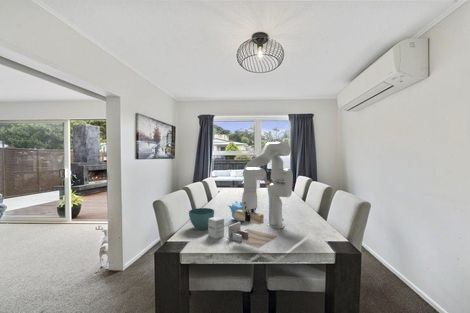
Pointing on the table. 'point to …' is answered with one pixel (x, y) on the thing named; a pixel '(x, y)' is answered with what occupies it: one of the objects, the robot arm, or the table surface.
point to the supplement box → (216, 227)
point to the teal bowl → (201, 217)
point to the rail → (254, 217)
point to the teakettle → (236, 207)
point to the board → (257, 238)
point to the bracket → (236, 232)
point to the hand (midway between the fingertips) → (250, 220)
